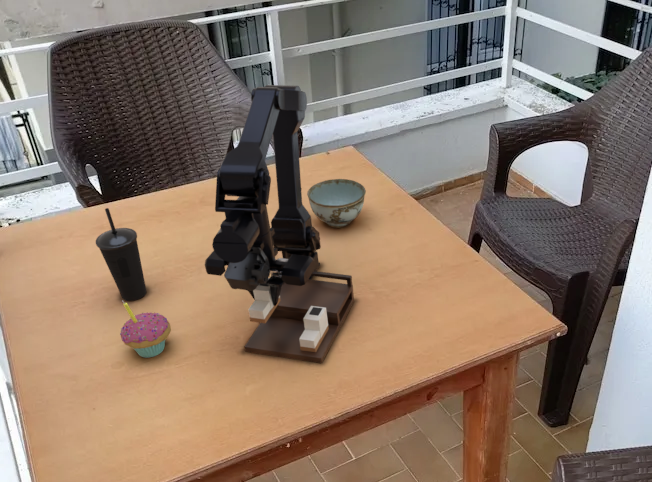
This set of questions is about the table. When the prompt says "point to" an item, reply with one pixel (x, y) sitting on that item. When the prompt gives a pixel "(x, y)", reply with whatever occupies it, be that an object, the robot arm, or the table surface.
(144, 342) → the cupcake
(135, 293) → the drinking cup
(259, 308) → the white l-shaped block
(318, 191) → the bowl
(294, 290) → the shoe rack
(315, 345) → the white stacked box shape
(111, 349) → the table surface
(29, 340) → the table surface
